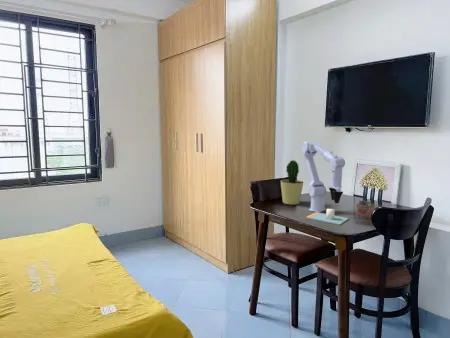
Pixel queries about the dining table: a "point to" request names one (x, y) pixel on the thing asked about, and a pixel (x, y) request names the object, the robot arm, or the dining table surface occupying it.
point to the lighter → (363, 209)
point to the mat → (323, 218)
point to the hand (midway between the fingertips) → (335, 201)
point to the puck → (330, 213)
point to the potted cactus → (291, 185)
